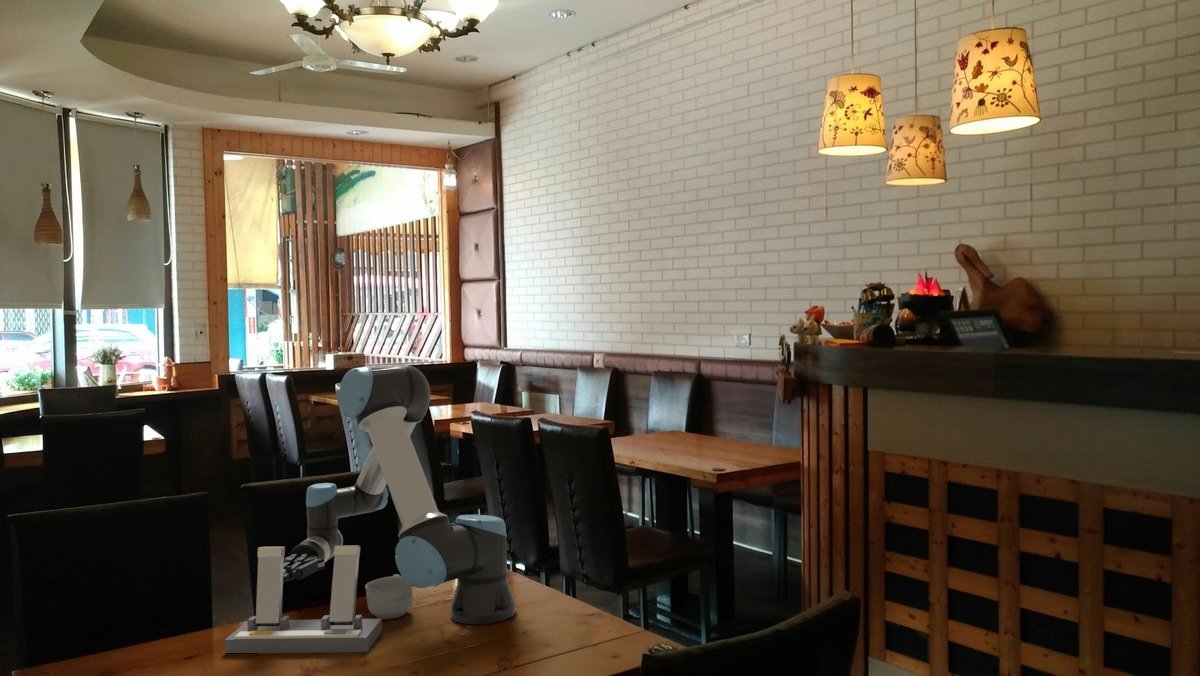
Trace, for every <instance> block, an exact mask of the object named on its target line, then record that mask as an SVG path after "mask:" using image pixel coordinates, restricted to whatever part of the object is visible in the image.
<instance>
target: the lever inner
mask: <svg viewBox="0 0 1200 676" xmlns="http://www.w3.org/2000/svg"><path fill="white" fill-rule="evenodd" d="M360 553H361V546H360V545H357V544H356V545H342V546H335V549H334V555H335V556H333V557H334V558H333V569H332V571H333V572H332V584H331V595H330V596H331V597H330V604H329V605H330V608H329V615H330V618H329V622H330V625H331V626H336V625H353V618H354V617H355V616H356V615H355V614H356V603H357V592H358V589H357V588H358V577H359V575H358V574H359V565H360V564H359V563H360V561H359V560H360V555H361V554H360Z"/></svg>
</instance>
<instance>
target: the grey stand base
mask: <svg viewBox="0 0 1200 676" xmlns="http://www.w3.org/2000/svg"><path fill="white" fill-rule="evenodd" d="M329 618H330V614H329V615H328V614H327V615H326V614H325V615H323V616H322V618H321V619H290V615H282V618H281V619H280V626H261V627H258V626H257V623H256V615H253V616H250V617H249V618H247V621H246V622H245V623H243V624H242V625H241V626H240V627H238V628H237V629H236V630H234V632H232V633H231V634H229V636H227V637H226V638H225V639H224V654H225V653H258V654H312V653H313V654H315V653H316V654H323V653H324V654H325V653H326V654H327V653H328V654H329V653H367V652H368V651H369V650H370V648H371V646H372V645H374V643H375V642H376V640H377V639H378V638H379V636H380V635H381V634H382V633H383V623H382V620H383V619H379V618H363V614H356V615H355V617H354V618H353V625H336V626H331V625H330V622H329Z"/></svg>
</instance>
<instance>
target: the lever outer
mask: <svg viewBox="0 0 1200 676" xmlns="http://www.w3.org/2000/svg"><path fill="white" fill-rule="evenodd" d="M285 547H286V546H260V547H257V578H256V579H257V580H256V582H257V583H256V604H255V605H256V607H255V616H256V623H257V626H258V627H261V626H280V619H281V618H282V617H283V591H284V590H283V588H284V585H283V584H284V583H283V563H284V558H285V554H286V553H285V550H286V549H285Z"/></svg>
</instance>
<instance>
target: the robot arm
mask: <svg viewBox="0 0 1200 676" xmlns="http://www.w3.org/2000/svg"><path fill="white" fill-rule="evenodd" d="M338 403H339V408H340V410H341V412H342V414H343V415H344V416H345V417H347V418H349V419H355V420H356V423H357V426H358V427H359V430H360V431H363V432H365V433H367V434H368V437H369V438H370V441H371V445H372V446H371V450H370V451H369V454H368V456H367V458H366V460H365V462H364V464H363V466H362V469H361V471H360V474H359V476H358V478H357V479H356V482H355V483H354V485H353V486H348V487H343V488H342V487H341V488H337V485H336V483H332V482H331V483H330V482H323V483H315V484H312V485H309V486H308V487H307V489H306V495H305V497H306V498H305V499H306V500H305V505H306V521H307V522H306V523H307V526H306V527H307V528H306V529H307V530H306V533H307V536H306V537H307V538H306V539H304V540H303V541H301V542H300V543H299V544H297V545H296V546H295V547H293V548H292V549H291V551H290V553H289V555H288V556H287V557H284V563H283V584H285V583H287V582H291V581H293V580H294V579H295V580H297V581H299V580H302V579H304V578H306V577H308V576H310V575H312V574H314V573H316V572H318V571H323V570H325V569H326V568H325V567H326V566H325V563H326V562H327V561H329V560H330V559H332V558H333V557H334V556H335V555H334V549H335V546H343V545H344V544H343V543H344V537H343V534H342V532H341V531H340V530H339V529H338V528H339V523H338V522H339V519H342V518H347V517H351V516H352V517H353V516H357V515H363V514H369V513H373V512H376V511H379V510H382V509H384V508H385V507H386V506H387V504H388V501H389V500H388V497H389V494H390V495H391V499H392V502H393V504H394V507H395V510H396V512H397V514H398V519H399V520H400V523H401V525H402V526H401V529H400V531H399V533H398V538H399V542H398V543H397V544H396V546H395V550H394V551H395V552H394V553H395V554H396V555H395V556H394V557H395V558H394V559H395V563H396V567H397V570H398V571H399V574H400V576H402V577H403V578H404V579H405V580H406V581H407V582H408V583H409V584H411V585H412V587H414V588H417V589H425V588H426V589H427V588H429V587H438V586H440V585H441V584H444V583H446V582H447V583H448V582H450V581H453V580H456V581H457V583H456V586H455V590H454V595H453V597H452V600H451V603H450V619H452V620H453V621H454V622H457V623H460V624H463V625H464V624H466V625H475V624H479V625H489V624H490V625H491V624H496V623H495V622H497V623H500V621H501V622H504V621H507V620H508V618H509V619H511V618H513V617H514V616H515V615H514V614H516V612H517V611H516V610H517V609H516V601H515V599H514V595H513V592H512V589H511V587H510V583H509V581H508V554H507V553H508V551H507V550H508V548H507V547H508V546H507V545H508V543H507V542H508V541H507V537H508V535H507V527H506V526H507V525H506V522H505V521H504V519H503V518H501V517H498V516H494V515H487V514H486V515H485V514H460V515H458V516H457V517H456V518H455V521H454V523H455V525H452V524H451V521H450V519H449V517H448V515H447V514H445V513H442V512H440V511H439V509H438V507H437V503H436V501H435V499H434V497H433V493H432V490H431V488H430V486H429V483H428V480H427V477H426V475H425V472H424V469H423V468H422V464H421V462H420V459H419V457H418V454H417V452H416V448H415V446H414V444H413V441H412V439H411V435H412V433H413V431H414V428H415V427H416V425H417V424H418V423H420V422H422V421H423V419H424V418H425V416H426V414H427V411H428V410H429V406H430V403H431V389H430V384H429V381H428V380H427V377H426V376H425V374H424V373H423V372H422V371H420V370H419V369H418V368H417V367H414V366H412V365H410V364H403V363H402V364H398V363H397V364H389V365H375V366H374V365H373V366H369V365H365V366H361V367H354V368H351V369H350V370H348V371H347V372H346V373H345V374H344V376H343V377H342V379H341V382H340V385H339V390H338ZM513 615H514V616H513ZM510 617H511V618H510ZM506 619H507V620H506Z"/></svg>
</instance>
